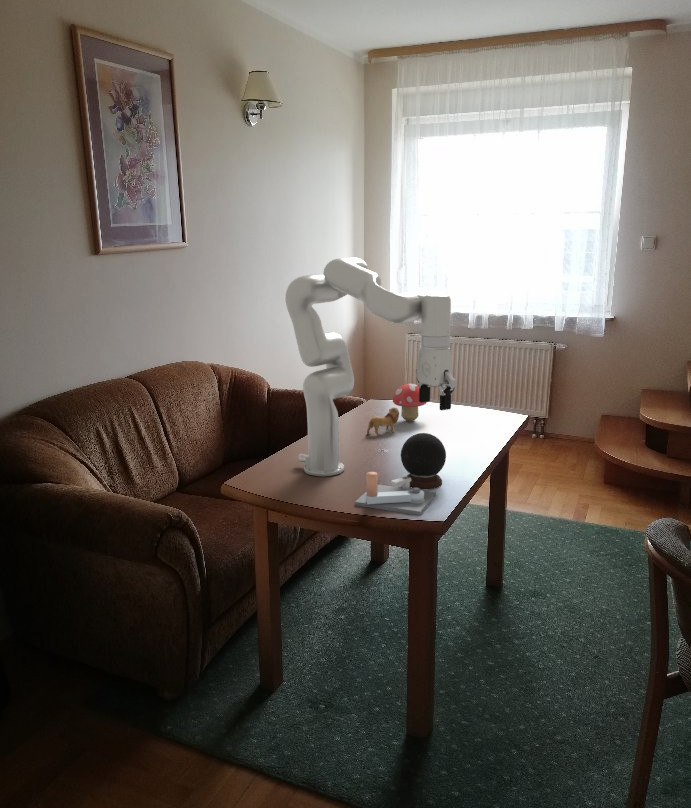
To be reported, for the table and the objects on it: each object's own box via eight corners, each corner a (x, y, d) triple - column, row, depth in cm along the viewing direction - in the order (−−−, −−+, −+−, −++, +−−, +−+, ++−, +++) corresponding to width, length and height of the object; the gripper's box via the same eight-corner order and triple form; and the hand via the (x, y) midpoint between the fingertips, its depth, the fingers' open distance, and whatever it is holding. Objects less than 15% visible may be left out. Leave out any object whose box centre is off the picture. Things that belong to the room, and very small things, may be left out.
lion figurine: (393, 428, 256) (393, 405, 253) (402, 431, 251) (402, 408, 249) (362, 435, 248) (362, 411, 245) (371, 438, 243) (370, 414, 241)
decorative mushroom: (428, 426, 258) (429, 387, 254) (393, 426, 258) (393, 388, 255) (425, 416, 271) (425, 380, 267) (391, 417, 271) (391, 380, 268)
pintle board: (436, 495, 189) (436, 479, 188) (420, 515, 176) (420, 498, 175) (374, 487, 197) (374, 471, 195) (355, 505, 184) (354, 488, 183)
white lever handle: (422, 495, 186) (422, 468, 184) (425, 501, 182) (426, 473, 180) (365, 499, 184) (365, 471, 182) (367, 505, 180) (367, 476, 178)
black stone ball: (416, 472, 209) (417, 425, 205) (453, 481, 200) (455, 432, 197) (391, 484, 199) (391, 435, 195) (429, 494, 191) (430, 443, 187)
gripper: (405, 339, 182) (405, 400, 186) (442, 347, 167) (441, 414, 171) (429, 336, 186) (428, 397, 190) (467, 345, 171) (465, 410, 175)
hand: (434, 405), depth 181 cm, fingers open, 9 cm apart
